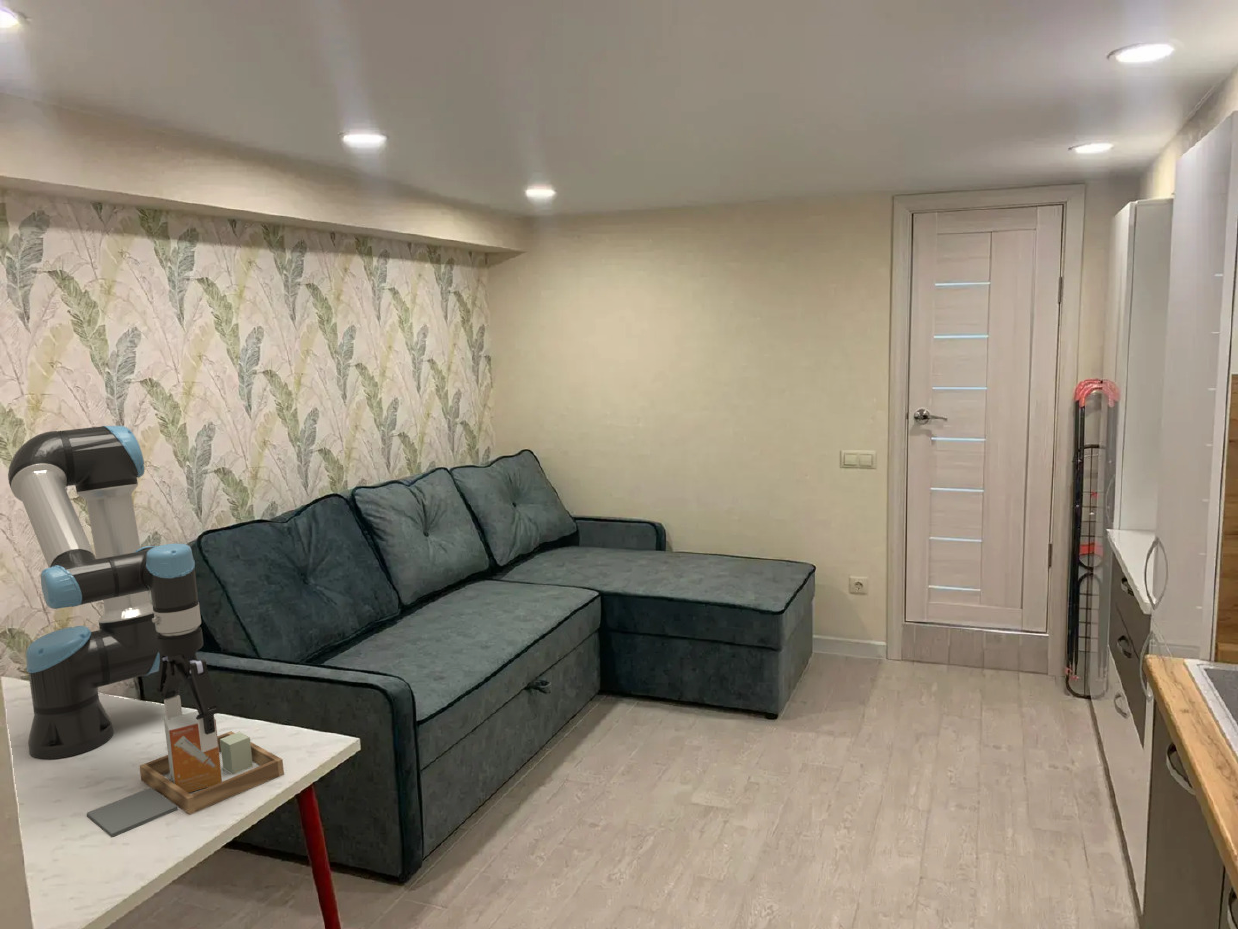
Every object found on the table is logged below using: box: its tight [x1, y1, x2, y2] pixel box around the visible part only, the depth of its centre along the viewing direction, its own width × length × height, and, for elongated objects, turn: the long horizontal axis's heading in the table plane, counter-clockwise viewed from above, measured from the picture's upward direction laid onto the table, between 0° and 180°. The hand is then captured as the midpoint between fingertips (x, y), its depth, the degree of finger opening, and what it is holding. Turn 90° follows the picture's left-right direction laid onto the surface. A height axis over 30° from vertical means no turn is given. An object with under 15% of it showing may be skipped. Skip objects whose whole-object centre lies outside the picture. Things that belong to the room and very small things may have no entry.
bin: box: [139, 730, 285, 815], centre depth 175 cm, size 20×18×3 cm
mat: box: [86, 786, 179, 838], centre depth 164 cm, size 11×11×1 cm
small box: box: [163, 708, 223, 794], centre depth 172 cm, size 8×6×13 cm
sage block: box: [220, 731, 254, 775], centre depth 179 cm, size 4×4×6 cm
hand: (192, 739), depth 172 cm, fingers open, 13 cm apart
